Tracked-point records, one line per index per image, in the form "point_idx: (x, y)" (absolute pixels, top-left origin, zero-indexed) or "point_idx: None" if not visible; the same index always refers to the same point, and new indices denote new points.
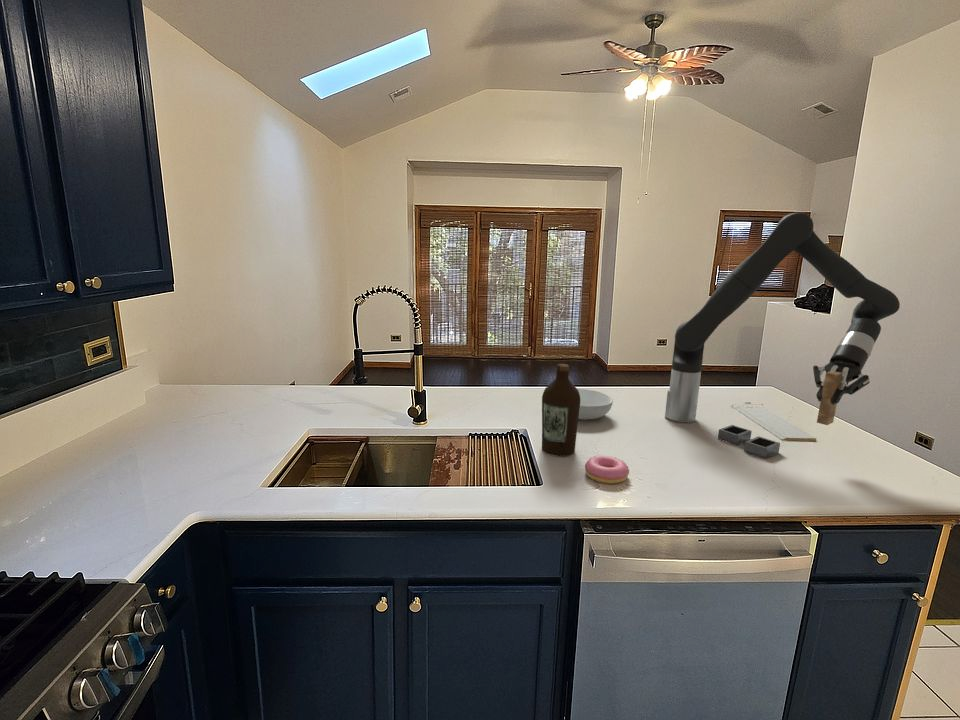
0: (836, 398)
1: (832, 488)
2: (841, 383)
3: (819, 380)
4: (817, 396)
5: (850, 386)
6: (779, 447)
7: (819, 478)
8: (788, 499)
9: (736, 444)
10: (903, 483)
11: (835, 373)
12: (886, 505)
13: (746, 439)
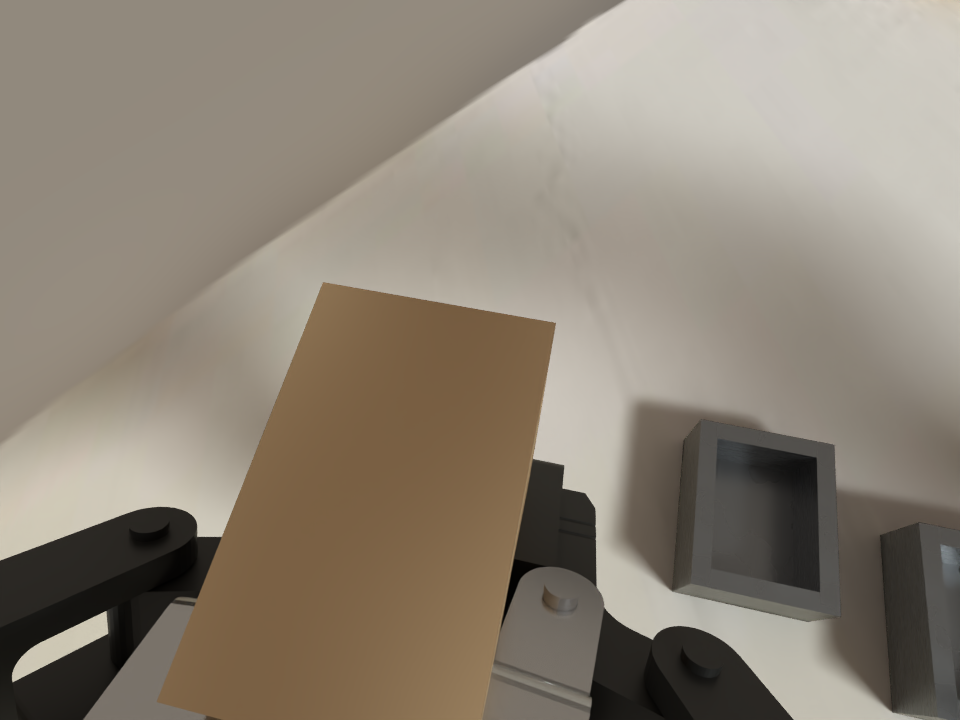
0: None
1: None
2: None
3: (669, 665)
4: (571, 496)
5: (124, 543)
6: (682, 588)
7: None
8: (490, 136)
9: (887, 535)
10: None
11: (352, 437)
12: (203, 298)
13: (897, 650)
